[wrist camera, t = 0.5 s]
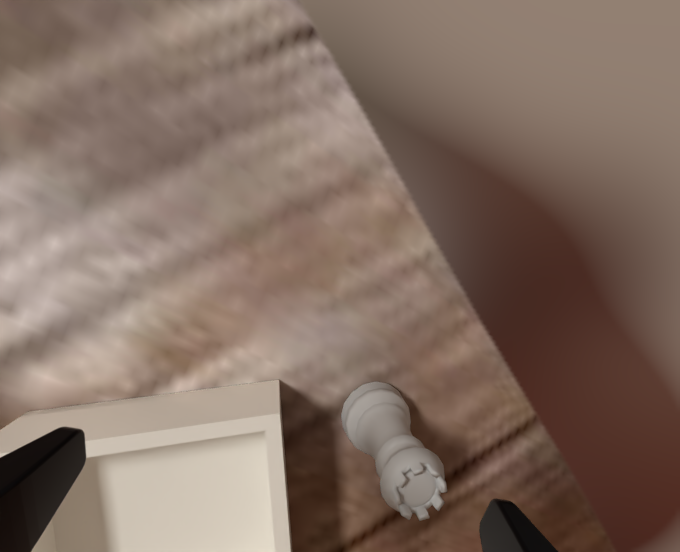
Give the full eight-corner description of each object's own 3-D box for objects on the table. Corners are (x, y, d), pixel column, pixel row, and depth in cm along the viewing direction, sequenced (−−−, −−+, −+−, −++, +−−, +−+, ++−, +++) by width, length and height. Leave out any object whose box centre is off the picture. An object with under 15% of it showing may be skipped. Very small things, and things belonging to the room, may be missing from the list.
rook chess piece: (401, 440, 24) (463, 535, 16) (338, 444, 23) (370, 546, 15) (405, 378, 23) (470, 443, 16) (341, 379, 23) (375, 449, 15)
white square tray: (294, 579, 23) (299, 658, 19) (61, 633, 21) (3, 738, 16) (279, 379, 22) (279, 413, 17) (27, 411, 19) (-46, 460, 15)
